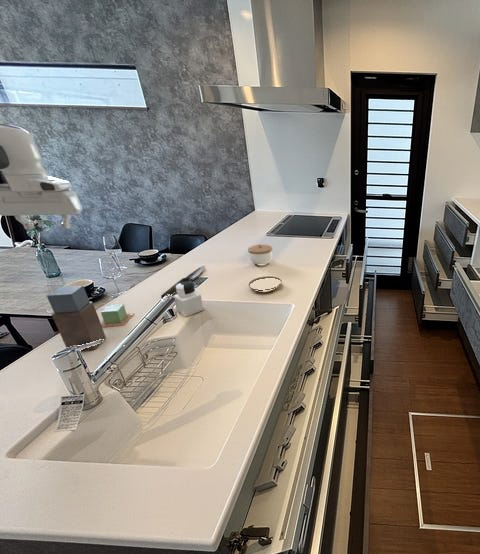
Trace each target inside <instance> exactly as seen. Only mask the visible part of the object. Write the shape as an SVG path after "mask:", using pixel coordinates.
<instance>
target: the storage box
mask: <svg viewBox="0 0 480 554" xmlns="http://www.w3.org/2000/svg"><path fill="white" fill-rule="evenodd" d="M95 307H96V306H95V305H94V302H93V301H89V303H88V304H87V305H86V306H85V307H83V308H82V309H81V310H80V311H79V312H67V313H54V312H53V313H52V314H51V317H52V319H53V321H54V324H55V326H56V328H57V330H58V332H59V335H60V337H61V339H62V341H63V343H64V345H65V347H66V349H67V347H70V346H73V345H82V344H86V343H90V342H93V341H96V340H99V339H104V338H105V339H106V338H107V336H106V333H105V331H104V327H102V325H101V323H102V322H101V321H100V317H99V315H98V313H97V309H96V308H95ZM105 339H104V340H105ZM100 345H101V344H97V345H95V346H91V347H89V348H85V349H83V350H81V351H80V352H88V351H96V349H98V348H99V346H100Z"/></svg>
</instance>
